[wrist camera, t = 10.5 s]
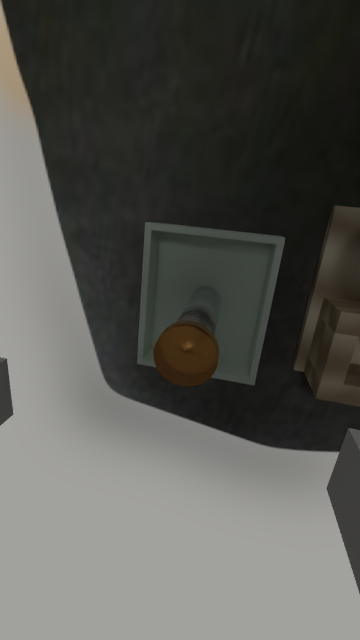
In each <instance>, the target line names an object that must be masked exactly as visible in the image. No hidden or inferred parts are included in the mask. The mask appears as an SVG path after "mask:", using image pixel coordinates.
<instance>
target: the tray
mask: <svg viewBox="0 0 360 640" xmlns="http://www.w3.org/2000/svg"><path fill="white" fill-rule="evenodd" d="M284 243H285V237H281V236H275V235H266V234H257V233H248V232H239V231H230V230H221V229H211V228H202V227H193V226H184V225H175V224H166V223H157V222H145V235H144V252H143V268H142V285H141V302H140V319H139V336H138V353H137V364H140V365H146V366H151V367H156V366H155V363H154V358H153V351H154V346H155V344H156V342H157V340H158V339H159V337H160V335H161V334H162V332H163V331H164V330H165V329H166V328H167V327H168V326H169V325H171V324H173V323H175V322H177V321H178V319H179V317H180V316H181V314H182V312H183V310H184V308H185V307H186V305H187V303H188V301H189V299H190V298H191V296H192V294H193V292H194V291H195V290H196V289H197V288H199V287H202V286H209V287H212V288H214V289H215V290H216V291H217V292H218V294H219V296H220V306H219V312H218V318H217V323H216V329H215V334H214V336H215V337H216V339H217V342H218V345H219V358H218V365H217V368H216V371H215V373H214V374H213V376H212V377H211V378H216V379H222V380H227V381H233V382H238V383H243V384H249V385H254V384H255V380H256V375H257V370H258V366H259V361H260V356H261V351H262V347H263V342H264V337H265V332H266V328H267V323H268V318H269V314H270V309H271V304H272V299H273V295H274V290H275V285H276V280H277V276H278V271H279V266H280V262H281V257H282V252H283V247H284Z"/></svg>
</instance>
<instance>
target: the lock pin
mask: <svg viewBox="0 0 360 640" xmlns="http://www.w3.org/2000/svg"><path fill="white" fill-rule="evenodd" d="M219 306H220V296H219V294H218V292H217V291H216V290H215V289H214V288H212V287H209V286H202V287H199V288H197V289H196V290H195V291H194V292H193V294H192V296H191V298H190V299H189V301H188V303H187V305H186V307H185V308H184V310H183V312H182V314H181V316H180V317H179V319H178V321H177V322H175V323H173V324H171V325H169V326H168V327H167V328H166V329H165V330H164V331H163V332H162V334H161V335H160V337H159V339H158V340H157V342H156V344H155V346H154V351H153V358H154V363H155V366H156V368H157V369H158V371H159V372H160V374H161V375H162V376H163V377H164V378H165V379H167V380H168V381H170V382H172V383H174V384H176V385H179V386H185V387H191V386H197V385H200V384H202V383H204V382H206V381H207V380H209V379H210V378H211V377H212V376H213V374H214V373H215V371H216V368H217V365H218V358H219V345H218V342H217V339H216V337H215V336H214V334H215V329H216V323H217V318H218V312H219Z"/></svg>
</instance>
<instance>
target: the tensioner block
mask: <svg viewBox="0 0 360 640" xmlns="http://www.w3.org/2000/svg"><path fill="white" fill-rule="evenodd" d="M292 367H293V370H296V371H302V372H304V374H305V376H306V378H307V380H308V383H309V385H310V387H311V389H312V392H313V394H314V396H315V398H316V399H320V400H326V401H331V402H337V403H342V404H347V405H353V406H358V407H360V208H356V207H345V206H332V210H331V214H330V218H329V222H328V226H327V230H326V234H325V238H324V242H323V245H322V249H321V253H320V257H319V261H318V265H317V269H316V273H315V277H314V281H313V285H312V289H311V293H310V297H309V301H308V305H307V309H306V313H305V316H304V320H303V324H302V328H301V332H300V336H299V340H298V344H297V348H296V352H295V356H294V360H293V364H292Z"/></svg>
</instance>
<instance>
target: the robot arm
mask: <svg viewBox="0 0 360 640" xmlns="http://www.w3.org/2000/svg"><path fill="white" fill-rule="evenodd" d="M12 415H13V408H12V400H11V391H10V383H9V374H8V365H7V359H5V358H0V425H1V424H3V423H4V422H5V421H6V420H7V419H8V418H10V417H11V416H12ZM327 491H328V494H329V497H330V500H331V503H332V507H333V510H334V513H335V516H336V519H337V522H338V526H339V529H340V532H341V535H342V538H343V542H344V545H345V548H346V551H347V554H348V558H349V560H350V564H351V567H352V570H353V574H354V577H355V580H356V583H357V586H358V589H359V593H360V430H356V429H351V428H348V431H347V433H346V436H345V439H344V442H343V444H342V447H341V450H340V453H339V455H338V458H337V461H336V464H335V467H334V469H333V472H332V475H331V478H330V480H329V483H328V486H327Z"/></svg>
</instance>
